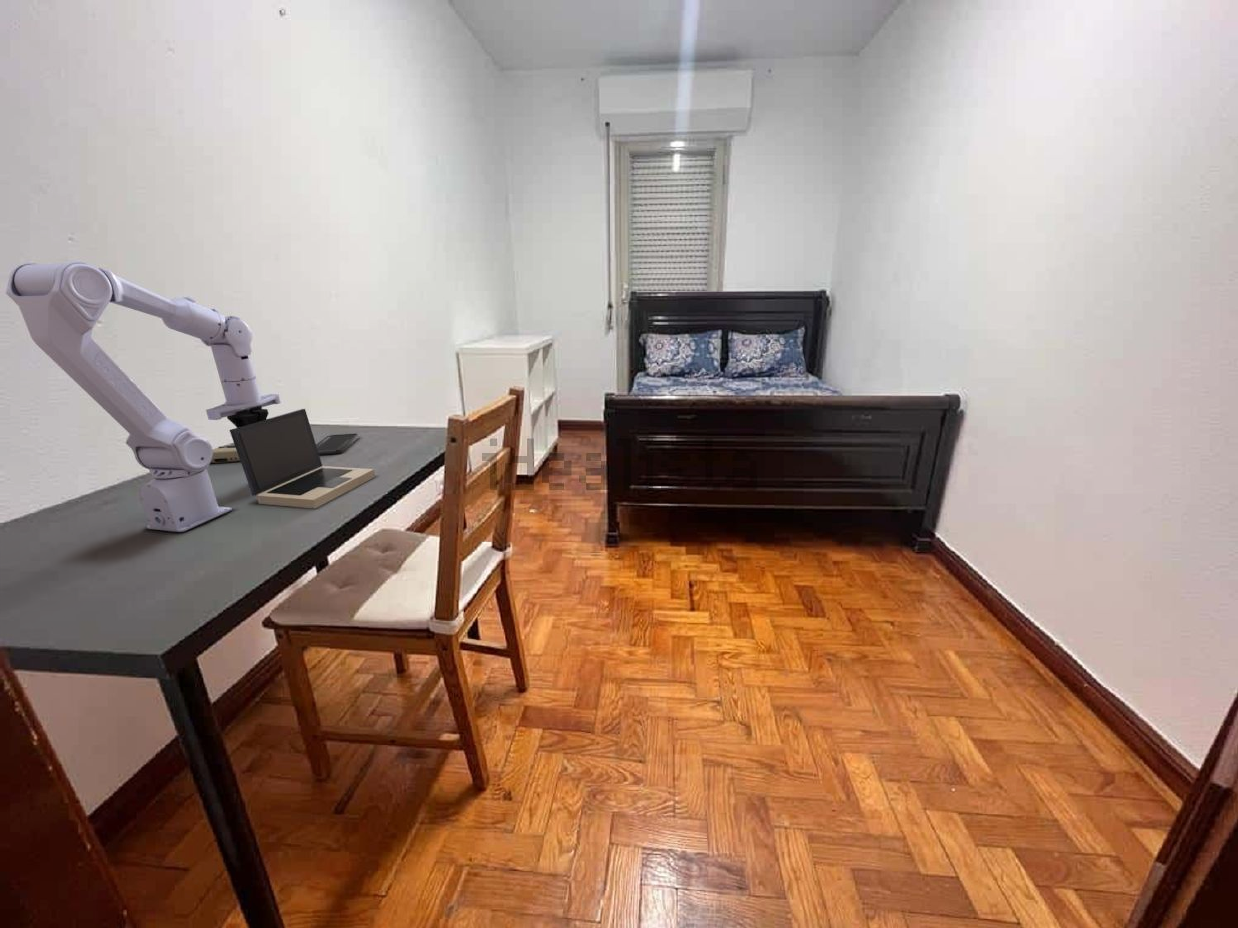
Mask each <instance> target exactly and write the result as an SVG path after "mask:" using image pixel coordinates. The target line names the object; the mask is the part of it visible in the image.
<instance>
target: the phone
mask: <svg viewBox="0 0 1238 928" xmlns="http://www.w3.org/2000/svg"><path fill="white" fill-rule="evenodd" d="M358 439H359V433H342V434H341V433H340V434H329V435H327V436H326V437H324V438H323V439H322V440H320V441H319V442H318V443H316V446H317V450H318V453H319V456H325V455H327V456H328V455H338V454H342V453H344V452H345V451H346V450H347V449H348V448H349V447H351V446H352V445H353V443H355V442H356V441H357V440H358Z"/></svg>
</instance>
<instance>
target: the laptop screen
mask: <svg viewBox="0 0 1238 928" xmlns="http://www.w3.org/2000/svg"><path fill="white" fill-rule="evenodd" d="M229 433H230V436H231V439H232V441H233V445H235V447H236V450H237V453H238V456H239V459H240V461H239V462H240V464H241V467H242V469H243V473H244V476H245V477H246V478H245V479H246V481H247V484H248V487H249V489H250V492H251V495H252V496H256V495H258V494H260V493H263V492H265V491H267V490H270V489H272V488H274V487H276V486H279V485H281V484H283V483H286V482H288V481H290V480H292V479H295V478H297V477H299V476H302V475H304V474H306V473H308V472H311V471H313V470H315V469H317V468H320V467H322V466H323V463H322V460H321V457H320V456H321V455H319V453H318V450H317V446H316V444H317V443H316V440H315V436H314V433H313V430H312V427H311V424H310V420H309V417H308V413H307V410H306V408H301V409H297V410H293V411H290V412H287V413H284V414H283V413H282V414H280V415H276V416H272V417H269V418H266V420H262V421H259V422H255V423H252V424H248V425H245V426H241V427H238V428H237V427H235V428H232V429H229Z"/></svg>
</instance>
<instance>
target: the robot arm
mask: <svg viewBox="0 0 1238 928" xmlns="http://www.w3.org/2000/svg"><path fill="white" fill-rule="evenodd" d="M5 294H6V296H7V297H8V298H10V300H12V301H13V302H14V303H15V304H16V305H17V306H18V308H19V311H20V313H21V315H22V318H23V321H24V323H25V325H26V328H27V330H28V333H29V335H30V338H31V339H32V341H33V342H34V344H35V345H36V346H37V347H38V348H39V349H40V350H41V351H43V352H44V353H45V355H47V356H48V357H49V358H50V359H51V360H52V361H53V362H54V363H55V364H56V365H57V366H58V367H59V368H60V369H61V370H62V371H64V373H66V374H67V375H68V376H69V377H70V378H71V379H72V380H73V381H74V382H75V383H76V384H77V385H78V386H79V387H80V388H81V389H82V390H83V391H85V393H86V394H87V395H88V396H90V397H91V398H92V400H94V401H95V402H96V403H97V404H98V405H99V406H100V407H101V408H102V409H103V410H104V411H105V412H106V413H107V414H108V415H109V416H110V417H111V418H113V419H114V421H116V422H117V423H118V425H120V427H122V428H123V429H124V430H125V431H126V432H127V433H128V436H127V438H126V440H125V444H126V445H127V446H128V448H130V449H131V450H132V452H133V455H134V458H135V460H136V462H137V463H138V464H139V465H140V466H141V467H142V468H144V469H147V470H148V471H149V474H150V476H153V478H152V479H151V480H150V481H148V482H147V483H144V484H143V485H141V486H140V488H139V490H138V491H139V492H138V495H139V499H140V502H141V505H142V508H143V511H144V514H145V516H146V519H147V522H148V525H147V526H146V528H147V529H148V530H158V531H166V532H176V533H183V532H186V531H188V530H192V529H193V528H195V527H198V526H199V525H203V524H204V523H206V522H209V521H211V520H213V519H215V518H218V517H220V516H222V515H224V514H226V513H230V512H232V510H233V509H232V507H228V506H219V504H218V501H217V498H216V494H215V492H214V488H213V485H212V481H211V478H210V475H209V472H208V470H209V469H210V464H211V463H210V462H211V460H212V456H213V450H212V449H213V446H212V444H211V442H210V441H209V440H208V439H207V438H205V437H204V436H201V435H198V434H197V433H194V431H192V430H191V429H190V427H188V426H187V425H185V424H182V423H180V422H178V421H175V420H173V419H171V418H169V417H168V416H167V415H165V413H164V412H163V411H162V410H161V409H160V408H159V407H158V406H157V405H156V404H155V403H154V402H153V400H152V399H151V398H150V397H148V396H147V394H146V393H145V392H144V391H143V390H142V389H141V388H140V387H139V386H138V385H137V383H135V381H134V380H132V378H131V377H130V376H129V375H128V374H127V373H126V372H125V371H124V370H123V368H121V367H120V365H119V364H117V363H116V361H115V360H114V359H112V357H111V356H110V355H109V354H108V353H107V352H106V351H105V350H104V349H103V348H102V346H100V344H98V342H96V340H95V339H94V338H93V337H92V334H93V329H94V327H95V326H96V325H97V323H98V321H99V319H100V318H101V317H102V315H103V313H104V312H105V310H106V308H107V307H108V305H109V303H112V304H115V305H118V306H121V307H124V308H127V309H131V310H134V311H137V312H141V313H144V314H147V315H150V316H154V317H157V318H159V319H161V320H162V322H163V324H164V326H165V327H167V328H168V329H169V330H173V331H175V332H179V333H181V334H185V335H188V336H191V337H193V338H196V339H199V340H200V341H201V342H202V343H203V344H204V345H205V346H206V347H210V349H211V352H212V355H213V359H214V364H215V366H216V370H217V374H218V377H219V381H220V385H221V389H222V391H223V395H224V398H225V401H224V403H221V404H220V405H217V406H215V407H211V408H207V409H205V412H206V415H207V418H208V421H212V420H213V421H218V420H219V421H220V420H222V419H223V418H227V420H228V421H230V422H231V423H232V424H233V425H234V427H235V428H238V427H241V426H245V425H248V424H252V423H255V422H259V421H262V420H266V419H268V416H269V410H268V408H264V407H268V406H271V405H279V404H281V399H280V394H277V393H270V394H266V395H265V394H264V395H261V393H260V388H259V385H258V381H257V377H256V373H255V369H254V364H253V361H252V358H251V355H252V346H251V345H252V344H251V343H252V341H253V337H254V335H253V329H251V328H250V327H249V325H248V324H247V323H246V322H245V321H244V320H243V319H241V318H240V317H238V316H234V315H224V314H222V313H221V311H220V310H219V309H216V308H209V307H205V306H203V305H200V304H198V303H196V299H194V298H192V297H190V296H186V297H185V296H182V297H174V298H171V299H168V298H166V297H163V296H161V295H159V294H157V293H156V292H153V291H151V290H149V289H146V288H144V287H141V286H140V285H137V284H135V283H133V282H131V281H128V280H126V279H124V278H121V277H120V276H118V275H115V273H113V271H111V270H109V269H105V268H102V267H97V266H95V265H93V264H91V263H88V262H86V261H79V260H74V261H73V260H72V261H69V262H55V263H35V262H33V263H32V262H28V263H27V262H26V263H22V264H21V263H20V264H19V265H16V266H15V267H14V268H12V270H11V271H10V273H9V277H8V282H7V286H6V291H5Z"/></svg>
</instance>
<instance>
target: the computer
mask: <svg viewBox="0 0 1238 928" xmlns="http://www.w3.org/2000/svg"><path fill="white" fill-rule="evenodd" d="M212 450H213V456H212V460H211V462H210V464H212V463H215V464H217V463H219V464H221V462H222V463H233V462H241V461H240V459H239V456H238V453H237V450H236V447H235V444H233V445H228V444H225V445H222V446H221V445H220V446H218V447H214V448H212Z"/></svg>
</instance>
